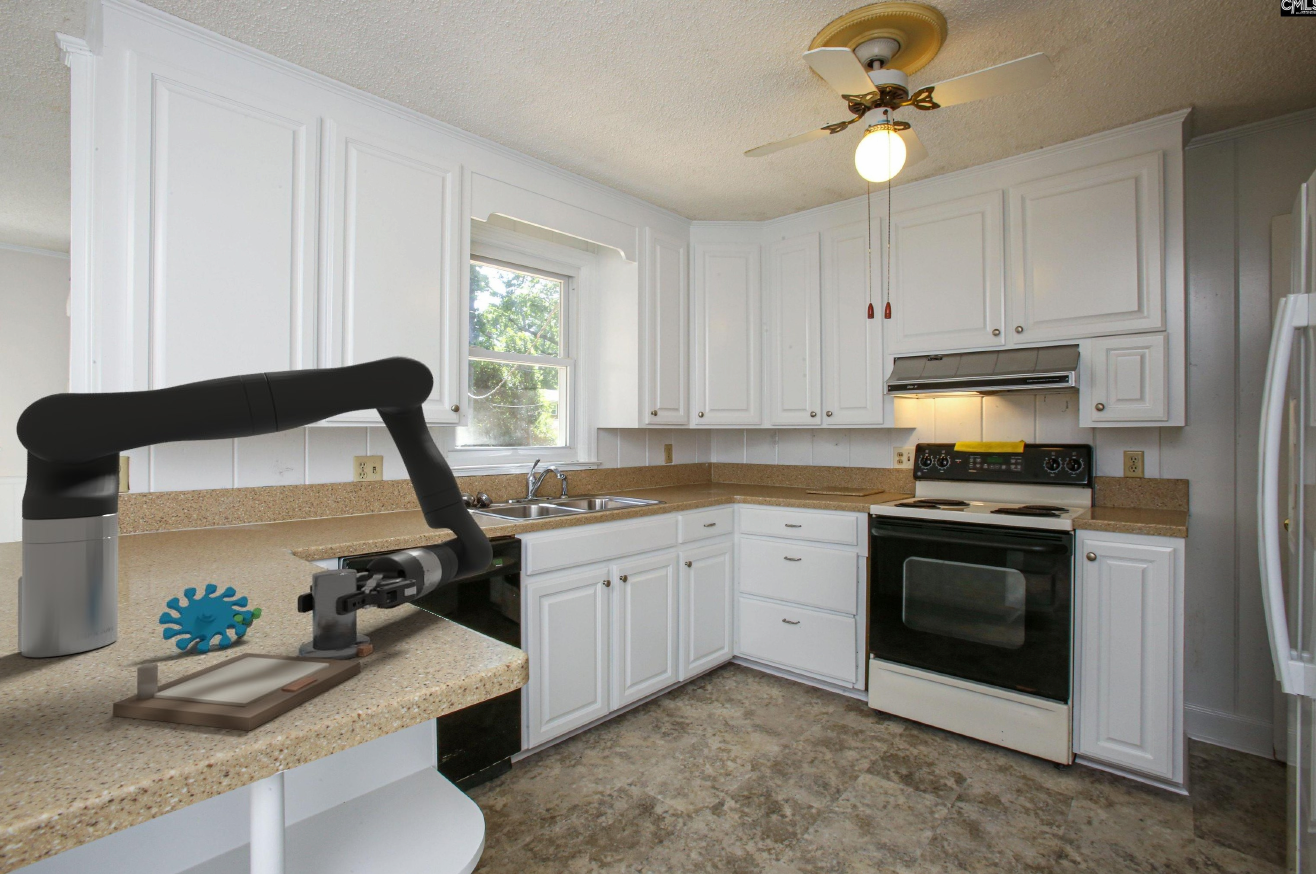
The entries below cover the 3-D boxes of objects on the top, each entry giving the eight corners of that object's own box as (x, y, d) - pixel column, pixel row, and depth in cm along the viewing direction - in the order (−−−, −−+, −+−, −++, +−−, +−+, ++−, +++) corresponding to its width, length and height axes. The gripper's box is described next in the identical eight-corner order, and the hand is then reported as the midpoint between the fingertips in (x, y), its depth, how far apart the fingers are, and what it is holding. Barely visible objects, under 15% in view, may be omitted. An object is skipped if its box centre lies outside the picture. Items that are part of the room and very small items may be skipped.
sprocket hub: (283, 660, 76) (282, 578, 76) (330, 640, 84) (330, 565, 84) (345, 665, 74) (345, 581, 74) (388, 644, 82) (388, 568, 82)
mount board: (112, 715, 61) (112, 672, 61) (245, 662, 75) (245, 627, 75) (249, 730, 57) (249, 685, 57) (360, 672, 72) (360, 635, 72)
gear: (153, 649, 76) (166, 580, 82) (149, 674, 79) (162, 606, 85) (260, 644, 82) (264, 580, 88) (252, 667, 85) (257, 604, 91)
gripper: (362, 550, 95) (269, 573, 78) (447, 552, 92) (370, 577, 75) (362, 599, 95) (270, 633, 78) (447, 604, 92) (370, 640, 75)
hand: (319, 605), depth 77 cm, fingers closed on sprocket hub, 5 cm apart
